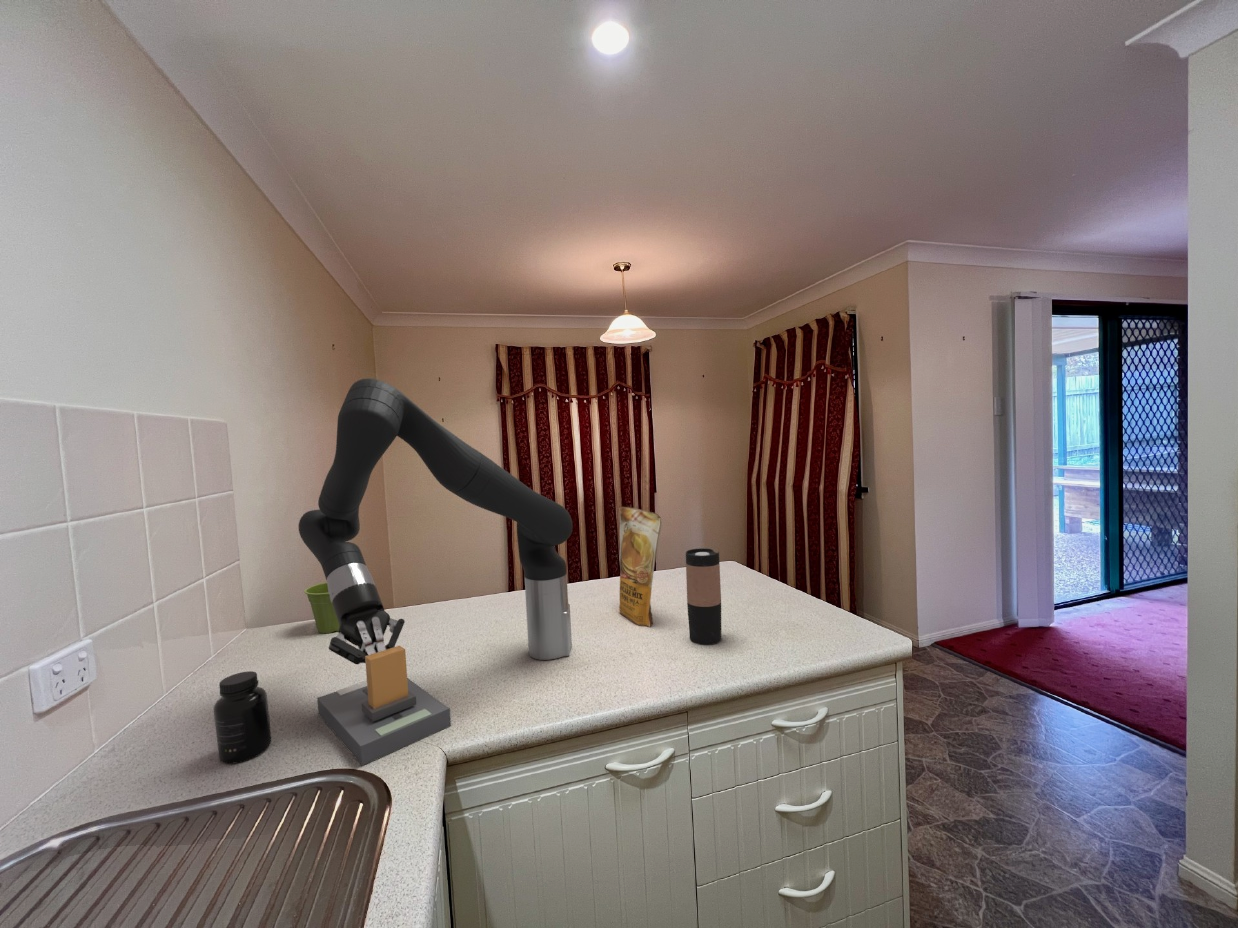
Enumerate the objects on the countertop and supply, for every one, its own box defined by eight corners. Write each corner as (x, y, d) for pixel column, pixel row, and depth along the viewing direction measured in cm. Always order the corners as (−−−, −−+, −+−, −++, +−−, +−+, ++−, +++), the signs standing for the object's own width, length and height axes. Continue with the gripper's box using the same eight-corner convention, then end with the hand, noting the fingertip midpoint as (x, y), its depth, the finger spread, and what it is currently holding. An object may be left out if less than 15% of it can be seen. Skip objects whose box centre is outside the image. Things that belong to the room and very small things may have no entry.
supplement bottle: (236, 740, 85) (230, 669, 84) (280, 737, 85) (274, 665, 85) (207, 767, 78) (200, 689, 77) (255, 762, 79) (248, 685, 78)
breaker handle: (361, 710, 86) (357, 655, 85) (404, 694, 91) (400, 642, 90) (373, 721, 82) (368, 663, 82) (416, 704, 87) (412, 649, 87)
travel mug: (684, 643, 116) (681, 555, 115) (693, 630, 123) (689, 547, 122) (719, 647, 113) (715, 556, 112) (725, 634, 120) (722, 548, 119)
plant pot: (300, 640, 129) (296, 595, 128) (316, 623, 140) (313, 582, 140) (352, 633, 132) (349, 590, 131) (363, 618, 143) (361, 578, 142)
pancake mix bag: (633, 604, 144) (629, 504, 143) (668, 625, 127) (663, 512, 126) (611, 608, 141) (606, 507, 140) (644, 631, 124) (638, 515, 123)
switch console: (318, 714, 92) (317, 696, 92) (397, 685, 102) (396, 669, 102) (362, 765, 77) (360, 744, 76) (450, 725, 86) (449, 706, 86)
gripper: (316, 591, 89) (345, 682, 81) (395, 574, 98) (427, 654, 90) (310, 614, 93) (337, 704, 85) (386, 596, 102) (416, 675, 94)
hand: (383, 678), depth 88 cm, fingers closed
